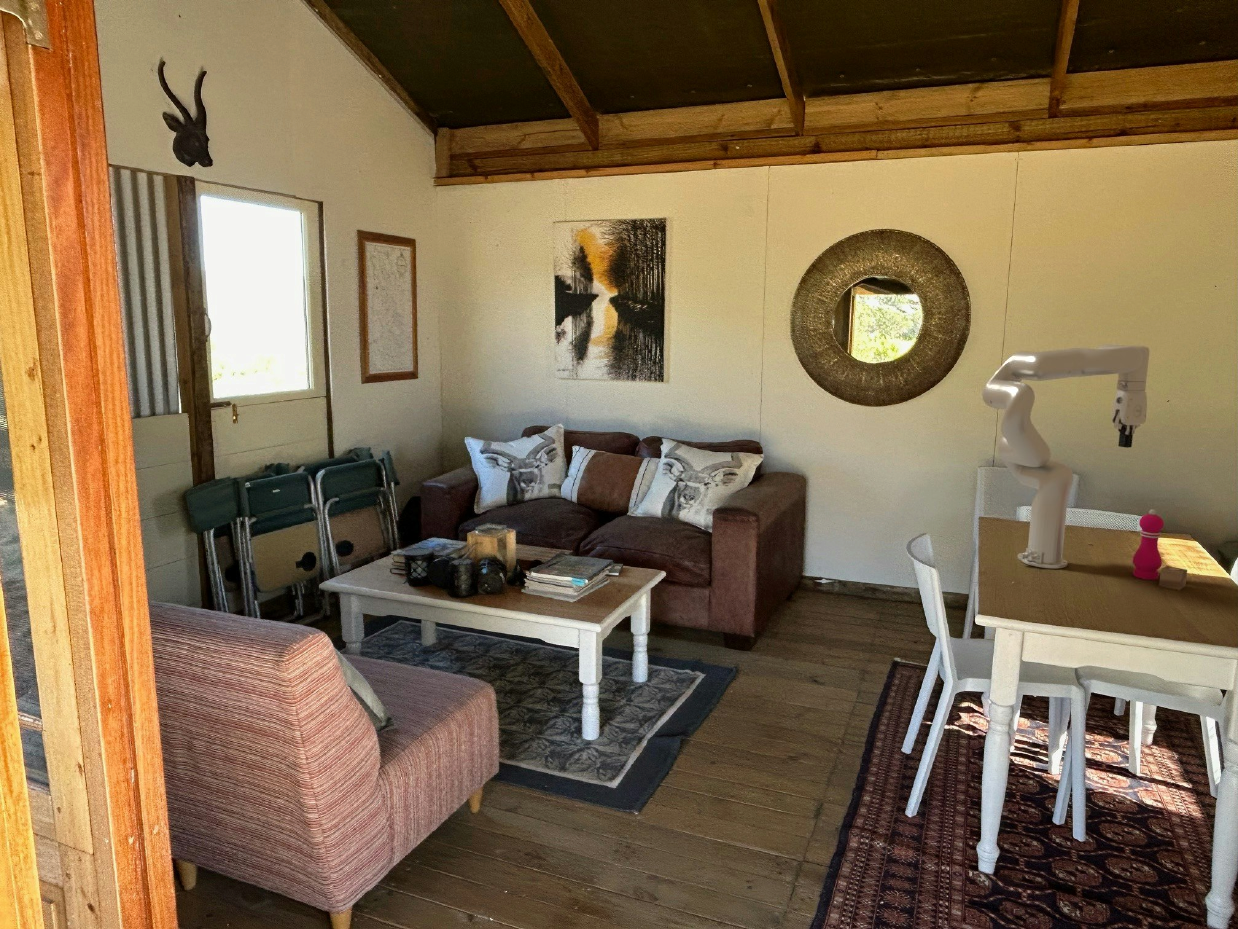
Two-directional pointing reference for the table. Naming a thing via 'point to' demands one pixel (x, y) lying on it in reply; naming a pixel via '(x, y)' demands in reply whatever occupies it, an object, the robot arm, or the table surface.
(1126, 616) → the table surface
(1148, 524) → the pepper mill
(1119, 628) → the table surface
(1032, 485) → the robot arm
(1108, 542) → the table surface
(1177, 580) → the walnut block
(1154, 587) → the table surface
